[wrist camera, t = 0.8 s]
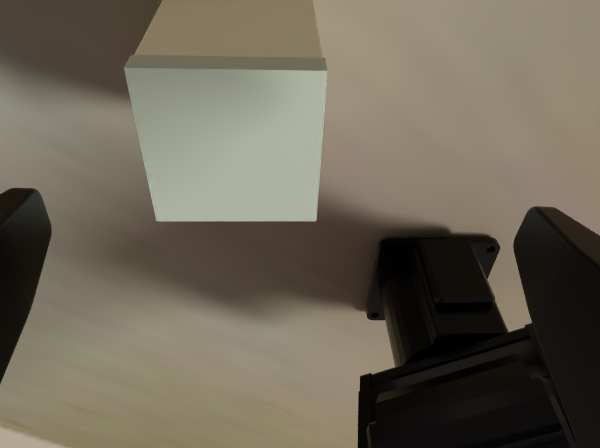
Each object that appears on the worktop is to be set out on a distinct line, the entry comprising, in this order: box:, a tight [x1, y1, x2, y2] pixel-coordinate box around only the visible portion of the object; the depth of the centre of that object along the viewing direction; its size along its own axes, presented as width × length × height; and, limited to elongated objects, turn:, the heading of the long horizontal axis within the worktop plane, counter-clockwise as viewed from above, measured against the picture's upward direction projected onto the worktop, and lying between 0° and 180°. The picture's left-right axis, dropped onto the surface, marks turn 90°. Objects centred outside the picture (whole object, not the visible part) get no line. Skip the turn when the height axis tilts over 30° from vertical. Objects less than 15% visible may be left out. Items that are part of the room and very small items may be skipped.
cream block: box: [124, 0, 327, 221], centre depth 17 cm, size 5×5×7 cm
